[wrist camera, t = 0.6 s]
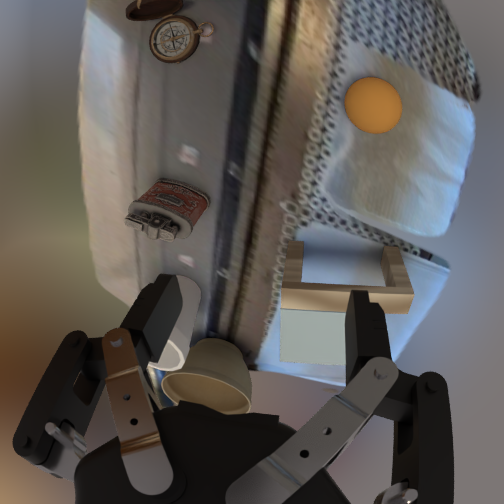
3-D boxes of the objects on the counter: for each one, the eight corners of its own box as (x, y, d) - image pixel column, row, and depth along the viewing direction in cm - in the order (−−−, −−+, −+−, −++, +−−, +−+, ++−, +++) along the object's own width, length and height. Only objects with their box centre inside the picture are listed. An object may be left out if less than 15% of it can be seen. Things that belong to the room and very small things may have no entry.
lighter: (213, 192, 39) (185, 231, 31) (207, 214, 41) (180, 256, 33) (157, 173, 39) (118, 206, 31) (153, 195, 41) (116, 231, 33)
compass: (158, 69, 31) (126, 73, 25) (146, 14, 27) (113, 8, 21) (221, 52, 29) (199, 50, 23) (208, -6, 25) (184, -21, 19)
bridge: (288, 240, 41) (281, 288, 33) (397, 246, 38) (414, 294, 30) (288, 259, 43) (281, 308, 35) (393, 264, 40) (407, 313, 32)
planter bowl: (219, 381, 64) (207, 423, 55) (165, 339, 59) (145, 382, 50) (277, 364, 57) (269, 412, 48) (220, 313, 51) (202, 364, 42)
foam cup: (164, 257, 47) (126, 316, 36) (218, 284, 48) (192, 349, 37) (152, 295, 52) (120, 351, 41) (199, 318, 53) (175, 378, 42)
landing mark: (280, 308, 48) (280, 309, 48) (368, 313, 46) (368, 313, 45) (280, 360, 56) (279, 361, 56) (353, 364, 53) (353, 365, 53)
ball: (341, 74, 28) (348, 75, 23) (394, 79, 27) (410, 82, 22) (341, 125, 31) (347, 136, 26) (392, 130, 30) (406, 142, 25)
